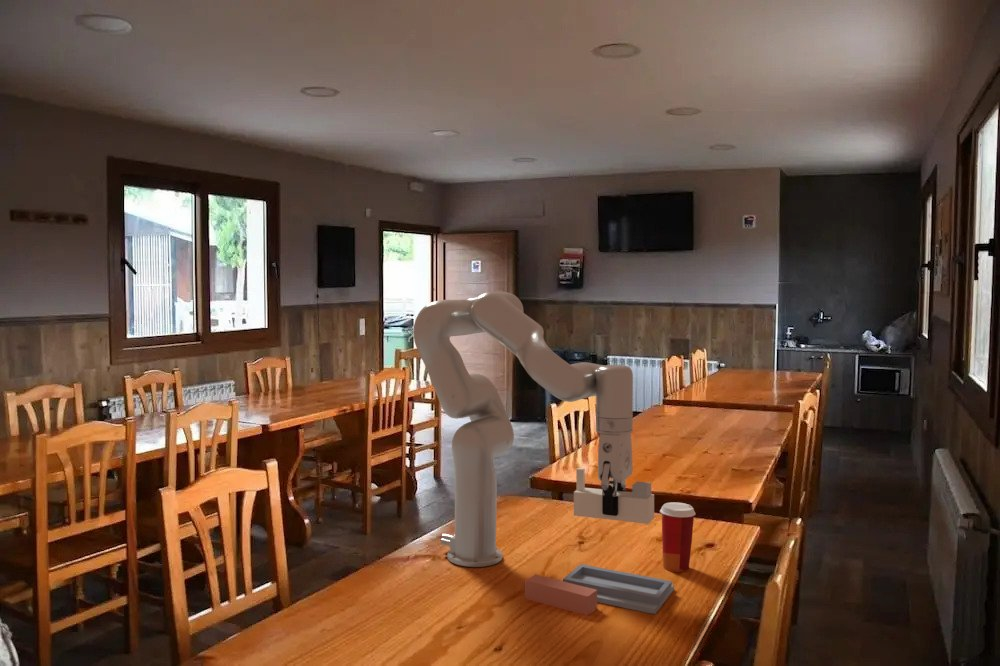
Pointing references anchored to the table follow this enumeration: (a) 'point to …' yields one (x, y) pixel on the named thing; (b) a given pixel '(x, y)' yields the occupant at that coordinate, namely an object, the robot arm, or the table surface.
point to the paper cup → (677, 535)
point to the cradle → (623, 588)
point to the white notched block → (630, 504)
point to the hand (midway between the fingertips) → (613, 510)
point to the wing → (561, 594)
